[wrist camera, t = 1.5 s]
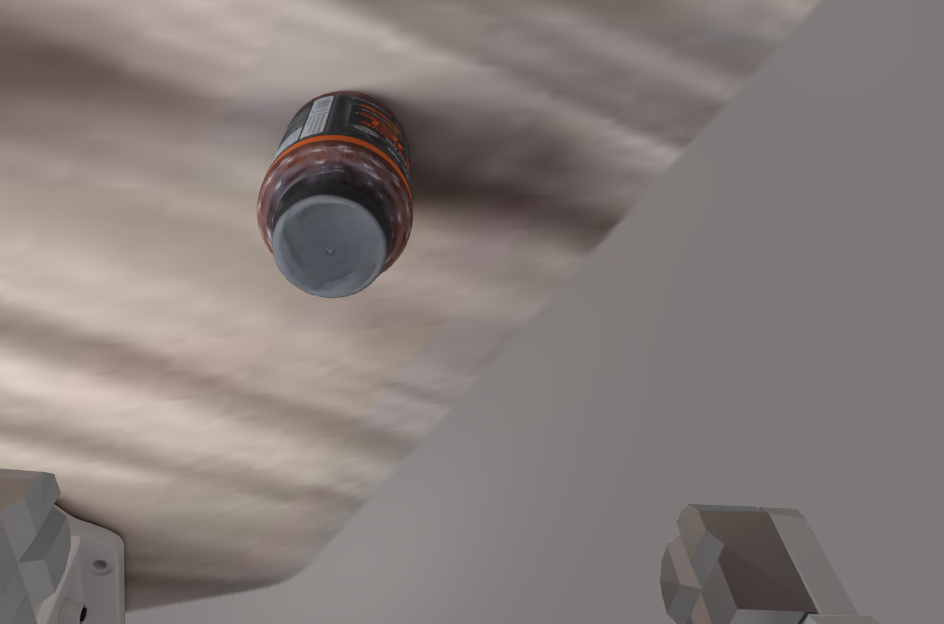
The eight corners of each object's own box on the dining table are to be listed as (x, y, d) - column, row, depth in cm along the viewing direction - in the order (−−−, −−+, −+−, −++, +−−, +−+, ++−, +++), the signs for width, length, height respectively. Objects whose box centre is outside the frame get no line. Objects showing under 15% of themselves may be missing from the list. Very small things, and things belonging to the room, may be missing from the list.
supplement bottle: (434, 152, 35) (452, 254, 25) (349, 229, 36) (335, 353, 27) (345, 58, 32) (326, 133, 23) (257, 146, 34) (205, 250, 24)
